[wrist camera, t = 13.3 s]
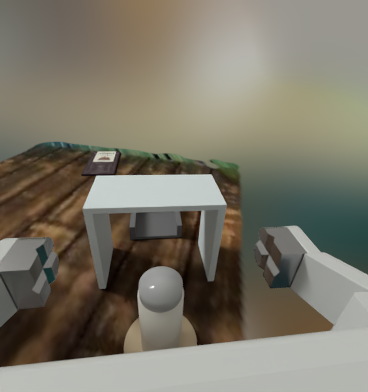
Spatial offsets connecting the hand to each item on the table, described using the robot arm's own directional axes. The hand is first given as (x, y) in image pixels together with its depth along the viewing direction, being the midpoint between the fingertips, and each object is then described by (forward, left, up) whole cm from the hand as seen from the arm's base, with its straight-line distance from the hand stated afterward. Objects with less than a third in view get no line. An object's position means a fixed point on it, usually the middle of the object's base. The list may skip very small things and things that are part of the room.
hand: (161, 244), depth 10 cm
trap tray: (+22, +26, -25) cm, 42 cm away
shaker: (+6, +7, -24) cm, 26 cm away
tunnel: (+15, +17, -25) cm, 33 cm away
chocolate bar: (+30, +61, -26) cm, 73 cm away
